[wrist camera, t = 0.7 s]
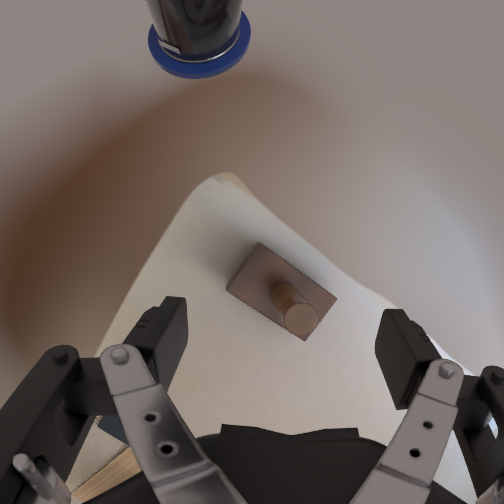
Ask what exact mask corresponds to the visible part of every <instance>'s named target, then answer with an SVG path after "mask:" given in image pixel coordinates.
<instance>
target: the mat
mask: <svg viewBox="0 0 504 504" xmlns="http://www.w3.org/2000/svg"><path fill="white" fill-rule="evenodd" d="M97 427H99V428H100V429H102V430H104V431H105V432H107V433H108V434H110V435H112V436H113V437H115V438H117V439H118V440H120V441H122V442H124V443H125V444H127V445H129V443H128V441H127V438H126V436H125V433H124V431H123V428H122V426H121V423H120V421H119V418H118V415H106V416H103V418H102V420H101V421H100V423H99V424H98V426H97ZM129 446H130V445H129Z"/></svg>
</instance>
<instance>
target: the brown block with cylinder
mask: <svg viewBox="0 0 504 504" xmlns="http://www.w3.org/2000/svg"><path fill="white" fill-rule="evenodd" d="M226 291H228V292H229V293H231V294H232V295H234V296H235V297H237V298H238V299H240V300H241V301H243V302H244V303H246V304H247V305H249V306H250V307H252V308H253V309H255V310H256V311H258V312H260V313H261V314H263V315H264V316H266V317H267V318H269V319H270V320H272V321H273V322H275V323H277V324H278V325H280V326H281V327H283V328H284V329H286V330H287V331H289V332H290V333H292V334H294V335H295V336H297V337H299V338H300V339H302V340H303V341H306V340H307V338H308V337H309V336H310V335H311V333H312V332H313V331H314V329H315V328H316V327H317V326H318V324H319V323H320V322H321V320H322V319H323V318H324V316H325V315H326V314H327V312H328V311H329V310H330V308H331V307H332V306H333V304H334V303H335V301H336V300H337V298H336V297H335V296H334V295H332V294H331V293H330V292H328V291H327V290H325V289H324V288H323V287H321V286H320V285H318V284H317V283H316V282H314V281H313V280H312V279H310V278H309V277H307V276H306V275H305V274H303V273H302V272H300V271H299V270H298V269H296V268H295V267H293V266H292V265H291V264H289V263H288V262H287V261H285V260H284V259H282V258H281V257H280V256H278V255H277V254H275V253H274V252H273V251H271V250H270V249H268V248H267V247H266V246H264V245H263V244H261V243H260V242H257V243H256V245H255V246H254V248H253V249H252V250H251V252H250V253H249V255H248V256H247V257H246V259H245V260H244V262H243V263H242V264H241V266H240V267H239V269H238V270H237V271H236V273H235V274H234V276H233V277H232V278H231V280H230V281H229V283H228V284H227V285H226Z"/></svg>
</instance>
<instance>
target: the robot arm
mask: <svg viewBox="0 0 504 504" xmlns="http://www.w3.org/2000/svg"><path fill="white" fill-rule="evenodd" d="M242 1H243V0H145V3H146V6H147V8H148V11H149V14H150V17H151V19H152V22H153V25H154V28H155V31H156V33H157V36H158V41H159V44H160V46H161V48H162V50H163V51H164V53H165V54H166V55H168V56H169V57H170V58H172V59H174V60H176V61H178V62H181V63H186V64H203V63H208V62H211V61H214V60H217V59H219V58H221V57H223V56H224V55H226V54H227V53H228V52H229V51H230V50H231V49H232V48H233V47H234V46H235V44H236V43H237V40H238V38H239V33H240V17H241V9H242ZM426 335H427V334H426V333H425V331H424V330H423V328H422V327H421V326H419V325H418V324H417V323H415V322H414V321H410V319H409V318H408V316H407V315H406V313H405V312H404V310H403V309H385V310H384V311H383V314H382V318H381V322H380V326H379V329H378V333H377V337H376V341H375V355H376V358H377V360H378V363H379V365H380V368H381V370H382V373H383V375H384V378H385V381H386V383H387V386H388V388H389V391H390V394H391V396H392V399H393V402H394V405H395V407H396V410H402V409H408V411H407V413H406V415H405V416H404V418H403V420H402V422H401V424H400V426H399V427H398V429H397V431H396V433H395V435H394V436H393V438H392V440H391V441H390V443H389V445H388V447H387V446H385V445H383V444H381V443H379V442H376V441H374V440H371V439H367V438H362V437H359V433H358V428H337V429H322V430H317V431H313V432H308V433H302V434H297V435H287V434H282V433H278V432H274V431H270V430H266V429H262V428H258V427H250V426H238V425H227V424H222V426H221V432H220V433H217V434H210V435H205V436H202V437H198V438H196V439H195V437H194V436H193V434H192V433H191V431H190V430H189V428H188V426H187V425H186V423H185V422H184V420H183V419H182V417H181V415H180V414H179V412H178V410H177V409H176V407H175V406H174V404H173V402H172V401H171V399H170V397H169V395H168V394H167V391H168V388H169V386H170V384H171V381H172V379H173V376H174V374H175V372H176V369H177V367H178V364H179V362H180V359H181V357H182V355H183V352H184V350H185V348H186V345H187V341H188V320H187V304H186V299H185V298H183V297H172V296H166V298H165V299H164V300H163V302H162V303H161V305H160V306H159V307H152V308H150V309H149V310H147V311H146V312H144V313H143V315H142V316H141V318H140V319H139V321H138V322H137V323H136V325H135V327H133V329H132V330H131V332H130V333H129V335H128V336H127V337H126V339H125V340H124V342H123V343H122V344H116V345H112V346H110V347H108V348H106V349H105V350H104V351H103V352H102V353H101V355H100V357H98V358H80V357H79V354H78V351H77V350H76V348H74V347H72V346H69V345H59V346H55V347H52V348H50V349H49V350H47V351H46V352H45V353H44V355H43V356H42V357H41V358H40V360H39V361H38V362H37V363H36V364H35V366H34V367H33V368H32V369H31V371H30V372H29V373H28V374H27V376H26V377H25V378H24V379H23V381H22V382H21V383H20V384H19V386H18V387H17V388H16V390H15V391H14V392H13V394H12V395H11V396H10V398H9V399H8V400H7V402H6V403H5V404H4V406H3V407H2V408H1V410H0V504H70V503H71V493H70V490H69V488H68V487H67V486H66V484H65V483H66V481H67V478H68V476H69V474H70V471H71V469H72V467H73V465H74V463H75V460H76V458H77V456H78V454H79V452H80V450H81V447H82V445H83V443H84V441H85V439H86V437H87V435H88V433H89V430H90V428H91V426H92V424H93V422H94V420H95V418H96V416H106V415H118V418H119V421H120V423H121V426H122V428H123V431H124V433H125V436H126V438H127V441H128V443H129V445H130V448H131V450H132V452H133V455H134V457H135V459H136V461H137V464H138V466H139V468H140V470H141V471H140V472H139V473H137V474H135V475H133V476H132V477H130V478H128V479H127V480H125V481H123V482H121V483H119V484H118V485H116V486H114V487H112V488H110V489H109V490H107V491H105V492H103V493H101V494H99V495H97V496H95V497H94V498H92V499H90V500H88V501H86V502H84V503H82V504H467V503H466V502H464V501H462V500H461V499H460V498H458V497H457V496H455V495H454V494H452V493H451V492H449V491H448V490H446V489H445V488H444V487H442V486H441V485H439V484H438V483H436V482H435V481H434V480H433V478H434V475H435V473H436V471H437V468H438V466H439V463H440V461H441V458H442V456H443V453H444V450H445V448H446V445H447V442H448V439H449V436H450V434H451V431H452V430H454V432H455V435H456V438H457V440H458V443H459V445H460V448H461V451H462V454H463V456H464V459H465V462H466V465H467V468H468V471H469V474H470V477H471V480H472V482H473V486H474V489H475V492H476V495H477V501H476V504H504V369H503V368H500V367H498V366H487V367H485V368H484V369H483V371H482V373H481V375H480V377H478V376H470V375H464V372H463V369H462V368H461V367H460V366H459V365H458V364H457V363H455V362H453V361H451V360H448V359H442V357H441V356H440V354H439V353H438V351H437V350H436V348H435V346H434V345H433V343H432V342H430V339H429V337H428V336H426ZM492 417H493V418H494V420H495V422H496V424H497V426H498V435H497V438H496V439H495V437H494V435H493V433H492V431H491V428H490V426H489V424H488V423H489V422H490V420H491V419H492Z"/></svg>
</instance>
